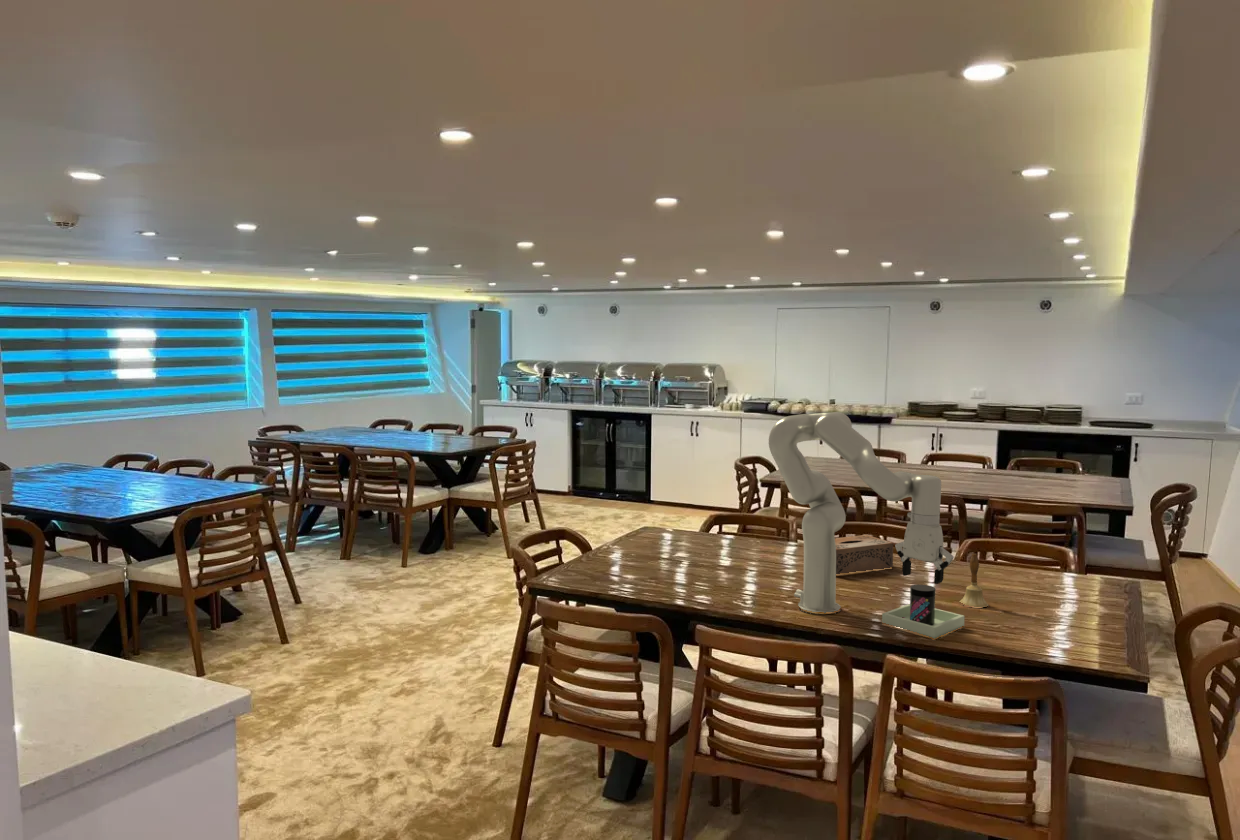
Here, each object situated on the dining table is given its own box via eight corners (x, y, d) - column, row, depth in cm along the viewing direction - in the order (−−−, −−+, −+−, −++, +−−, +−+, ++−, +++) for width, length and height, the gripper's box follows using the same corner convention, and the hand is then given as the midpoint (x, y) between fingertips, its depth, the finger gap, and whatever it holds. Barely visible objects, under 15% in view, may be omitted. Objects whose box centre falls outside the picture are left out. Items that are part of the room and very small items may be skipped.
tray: (882, 625, 232) (882, 613, 232) (912, 614, 242) (912, 602, 242) (934, 640, 220) (934, 627, 219) (964, 627, 230) (964, 615, 229)
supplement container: (904, 620, 234) (905, 584, 233) (927, 619, 235) (927, 583, 234) (916, 628, 227) (917, 591, 226) (939, 627, 228) (940, 590, 227)
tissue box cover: (834, 578, 283) (834, 549, 282) (809, 568, 296) (809, 541, 296) (892, 570, 293) (893, 542, 292) (866, 560, 306) (866, 534, 306)
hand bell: (971, 609, 246) (973, 558, 245) (953, 602, 254) (954, 551, 253) (994, 607, 248) (996, 556, 247) (975, 599, 256) (977, 549, 255)
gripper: (890, 515, 233) (887, 574, 234) (947, 526, 219) (944, 588, 221) (904, 512, 237) (901, 570, 239) (961, 523, 224) (958, 583, 226)
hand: (922, 578), depth 230 cm, fingers open, 9 cm apart
